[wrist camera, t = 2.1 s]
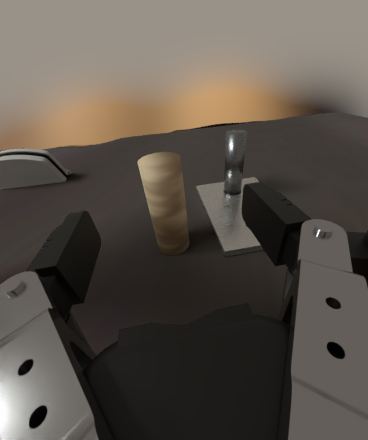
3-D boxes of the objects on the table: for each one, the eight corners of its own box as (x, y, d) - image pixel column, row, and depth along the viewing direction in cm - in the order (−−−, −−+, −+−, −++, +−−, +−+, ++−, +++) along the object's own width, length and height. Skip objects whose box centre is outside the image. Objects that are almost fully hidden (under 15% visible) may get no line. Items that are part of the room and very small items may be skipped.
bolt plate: (224, 257, 24) (228, 174, 17) (196, 190, 38) (192, 131, 32) (314, 240, 25) (351, 156, 18) (253, 181, 39) (261, 122, 33)
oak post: (158, 257, 25) (136, 170, 18) (157, 235, 28) (138, 155, 21) (192, 252, 25) (183, 163, 18) (186, 231, 29) (177, 149, 22)
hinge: (72, 173, 53) (49, 141, 44) (69, 186, 50) (43, 154, 42) (11, 181, 52) (-24, 150, 44) (4, 194, 50) (-34, 163, 42)
